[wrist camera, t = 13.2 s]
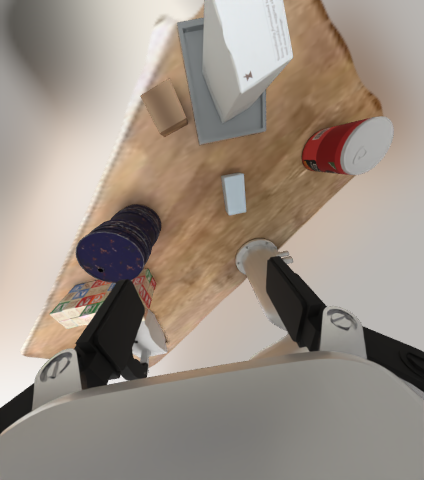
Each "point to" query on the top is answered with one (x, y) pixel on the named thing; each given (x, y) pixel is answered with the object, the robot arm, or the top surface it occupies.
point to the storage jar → (120, 245)
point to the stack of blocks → (97, 300)
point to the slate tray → (201, 98)
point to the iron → (145, 348)
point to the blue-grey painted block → (234, 193)
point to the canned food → (349, 147)
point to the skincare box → (243, 51)
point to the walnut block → (165, 108)
